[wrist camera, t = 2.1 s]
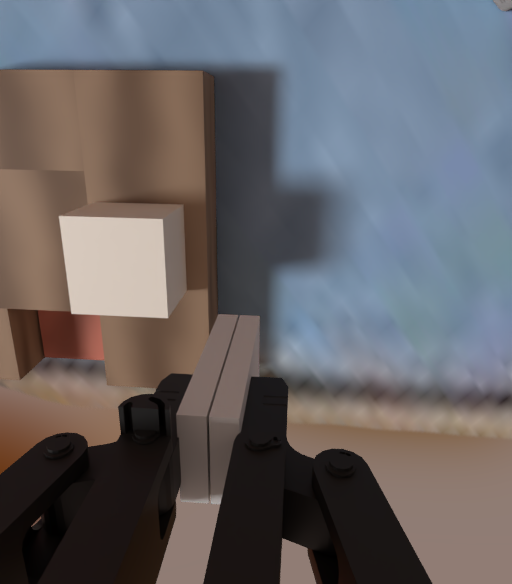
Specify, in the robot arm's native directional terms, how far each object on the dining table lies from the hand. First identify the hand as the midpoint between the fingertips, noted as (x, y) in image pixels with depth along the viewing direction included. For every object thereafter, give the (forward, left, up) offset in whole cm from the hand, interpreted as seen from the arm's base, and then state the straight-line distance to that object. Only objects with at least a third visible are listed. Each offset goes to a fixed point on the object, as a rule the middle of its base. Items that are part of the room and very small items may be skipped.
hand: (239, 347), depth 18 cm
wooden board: (+18, -6, -18) cm, 26 cm away
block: (+8, -3, -14) cm, 17 cm away
